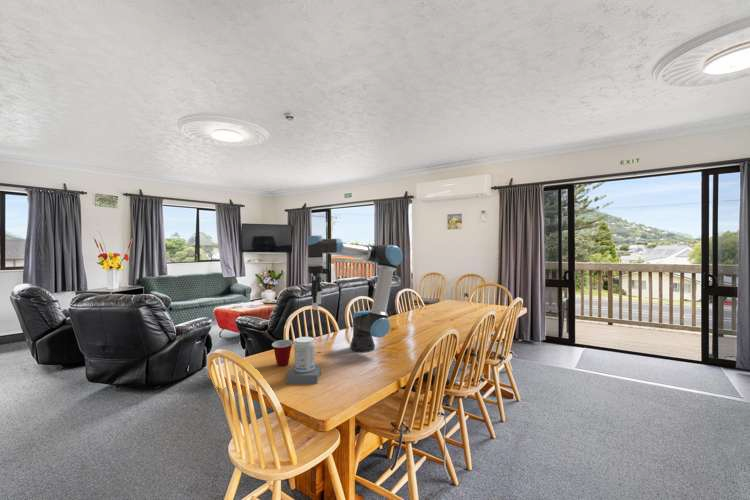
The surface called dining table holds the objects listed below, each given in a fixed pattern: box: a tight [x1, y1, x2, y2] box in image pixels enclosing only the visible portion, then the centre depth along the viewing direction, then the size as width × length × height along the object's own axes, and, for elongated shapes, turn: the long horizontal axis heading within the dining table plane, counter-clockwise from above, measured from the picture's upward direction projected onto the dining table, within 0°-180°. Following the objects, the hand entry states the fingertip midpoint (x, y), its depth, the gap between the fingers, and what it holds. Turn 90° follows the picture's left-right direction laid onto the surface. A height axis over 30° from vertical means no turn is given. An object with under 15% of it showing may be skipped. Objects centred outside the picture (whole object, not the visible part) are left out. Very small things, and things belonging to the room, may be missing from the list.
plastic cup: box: [271, 339, 294, 367], centre depth 183 cm, size 11×11×12 cm
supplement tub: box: [293, 336, 316, 373], centre depth 165 cm, size 10×10×15 cm
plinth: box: [285, 363, 322, 385], centre depth 165 cm, size 14×14×4 cm
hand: (316, 306), depth 178 cm, fingers open, 13 cm apart
